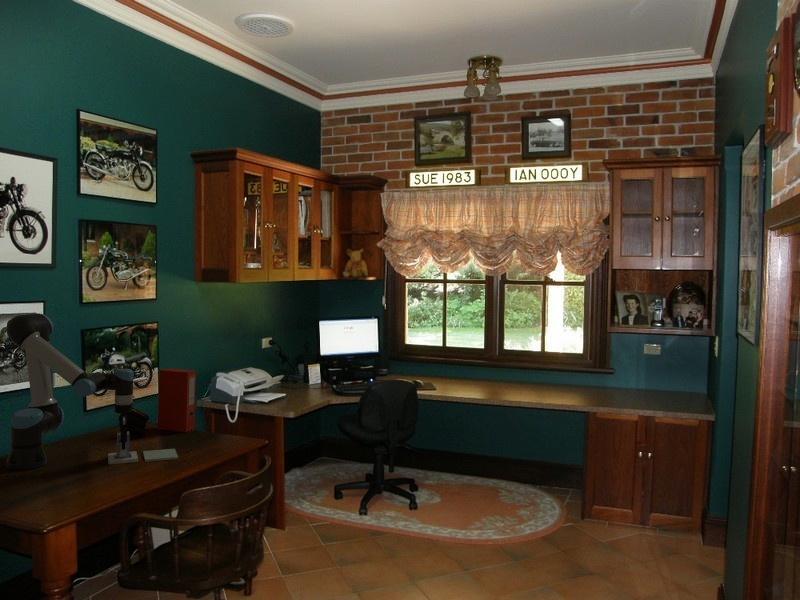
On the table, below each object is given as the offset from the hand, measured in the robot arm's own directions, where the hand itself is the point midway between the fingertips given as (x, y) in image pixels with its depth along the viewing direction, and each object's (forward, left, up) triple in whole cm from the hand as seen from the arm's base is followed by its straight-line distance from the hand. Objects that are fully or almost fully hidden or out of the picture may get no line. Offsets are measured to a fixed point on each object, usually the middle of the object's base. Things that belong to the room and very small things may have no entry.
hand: (122, 453), depth 290 cm
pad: (+16, 0, -2) cm, 16 cm away
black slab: (+7, +39, -3) cm, 39 cm away
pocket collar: (0, 0, -2) cm, 2 cm away
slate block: (0, 0, -2) cm, 2 cm away
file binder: (+28, +48, -3) cm, 55 cm away
